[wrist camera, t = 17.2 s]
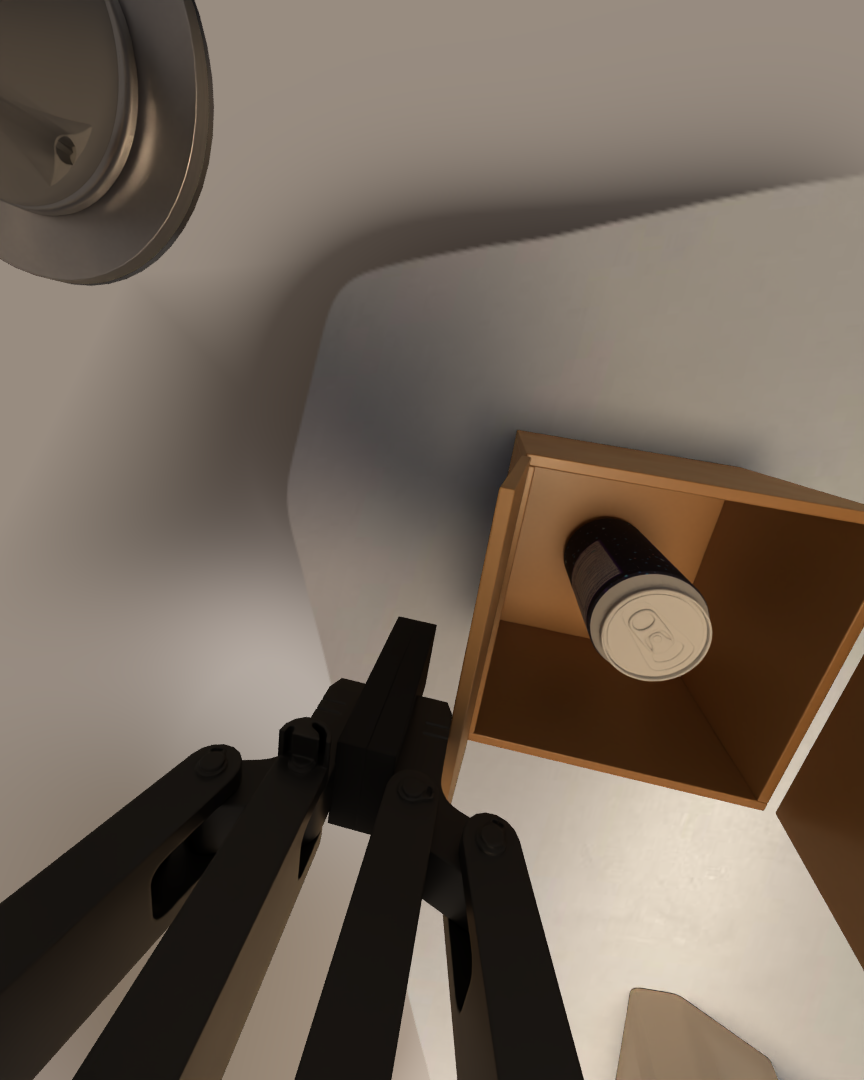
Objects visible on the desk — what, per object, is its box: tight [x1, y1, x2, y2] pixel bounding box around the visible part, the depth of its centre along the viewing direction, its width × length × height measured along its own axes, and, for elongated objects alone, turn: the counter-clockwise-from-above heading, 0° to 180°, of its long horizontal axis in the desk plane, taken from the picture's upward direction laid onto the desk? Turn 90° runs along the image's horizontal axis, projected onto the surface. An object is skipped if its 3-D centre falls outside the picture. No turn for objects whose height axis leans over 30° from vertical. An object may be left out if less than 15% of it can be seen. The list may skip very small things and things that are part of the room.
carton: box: [468, 430, 864, 970], centre depth 23 cm, size 16×15×21 cm
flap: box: [441, 456, 531, 804], centre depth 17 cm, size 7×15×1 cm
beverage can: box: [564, 518, 712, 681], centre depth 26 cm, size 6×6×12 cm
